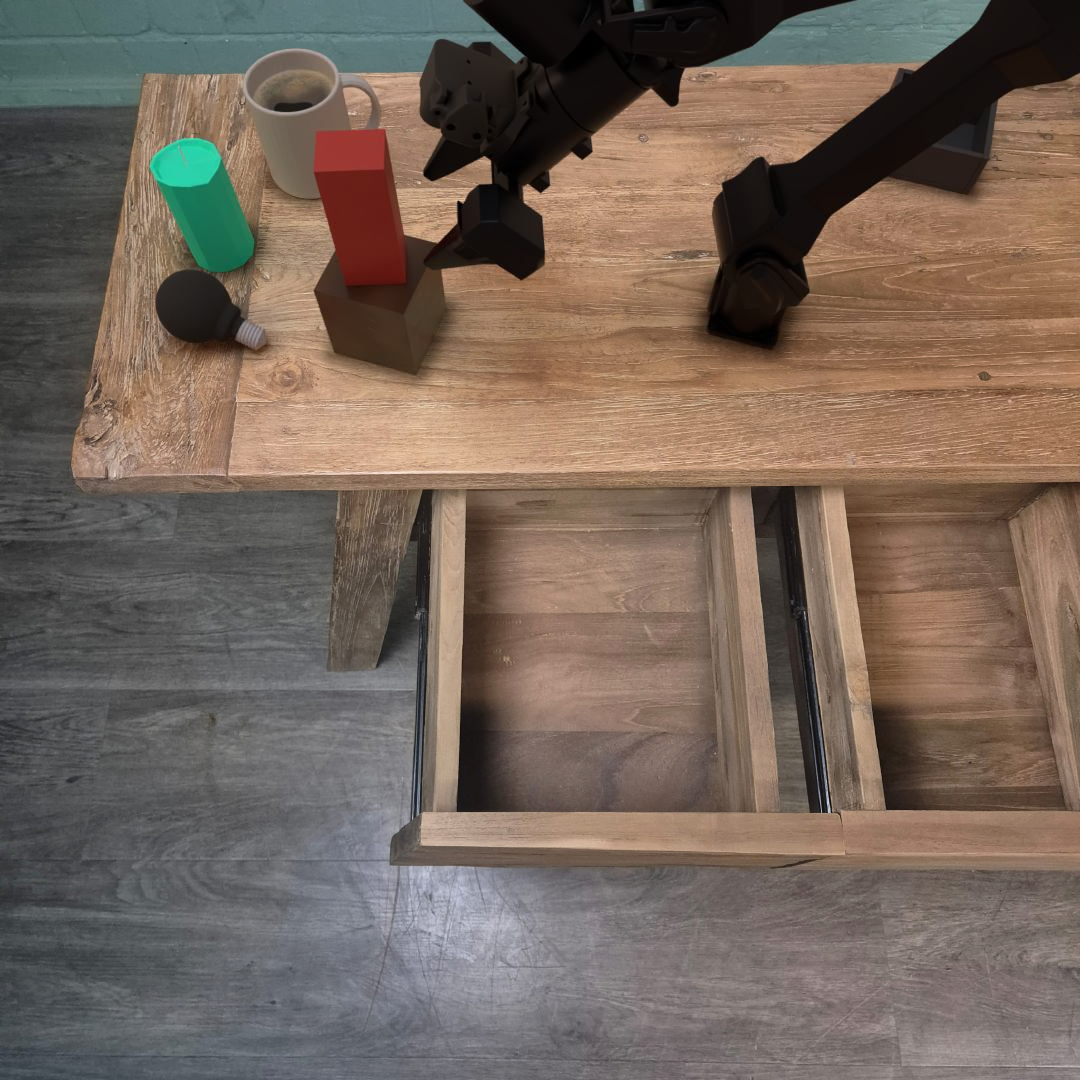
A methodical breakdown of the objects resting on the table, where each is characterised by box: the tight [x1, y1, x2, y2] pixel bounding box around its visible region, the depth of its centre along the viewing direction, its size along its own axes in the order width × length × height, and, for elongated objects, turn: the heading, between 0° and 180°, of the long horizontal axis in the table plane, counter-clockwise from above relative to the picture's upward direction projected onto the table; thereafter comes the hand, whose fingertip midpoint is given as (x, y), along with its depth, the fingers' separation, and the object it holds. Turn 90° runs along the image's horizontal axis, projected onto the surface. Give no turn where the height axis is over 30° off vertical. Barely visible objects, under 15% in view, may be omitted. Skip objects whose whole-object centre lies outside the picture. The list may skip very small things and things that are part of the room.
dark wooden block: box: [313, 234, 447, 376], centre depth 78 cm, size 8×8×8 cm
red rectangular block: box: [313, 128, 406, 286], centre depth 69 cm, size 5×4×12 cm
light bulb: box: [154, 268, 267, 351], centre depth 79 cm, size 6×6×10 cm
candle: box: [149, 137, 256, 273], centre depth 80 cm, size 6×6×12 cm
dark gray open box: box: [888, 67, 999, 196], centre depth 90 cm, size 10×10×4 cm
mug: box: [242, 48, 382, 200], centre depth 86 cm, size 11×10×10 cm
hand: (427, 220), depth 70 cm, fingers open, 9 cm apart
